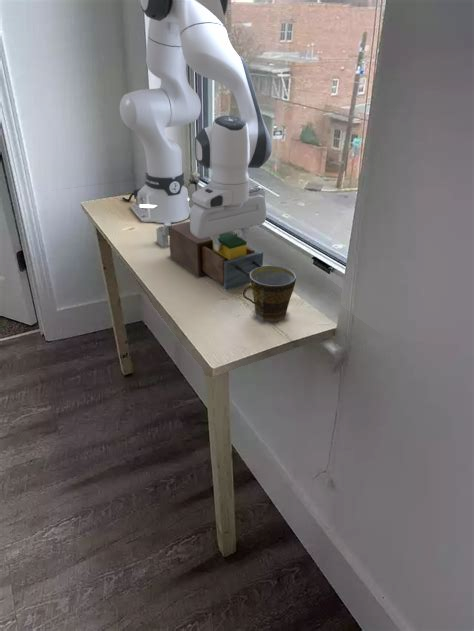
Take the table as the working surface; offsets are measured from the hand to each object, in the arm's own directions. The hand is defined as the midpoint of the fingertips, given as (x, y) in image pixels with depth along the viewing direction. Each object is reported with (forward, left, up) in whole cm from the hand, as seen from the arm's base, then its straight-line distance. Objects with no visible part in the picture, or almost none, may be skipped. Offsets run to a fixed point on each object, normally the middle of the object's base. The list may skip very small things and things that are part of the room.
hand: (229, 246), depth 125 cm
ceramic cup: (+21, -5, -9) cm, 23 cm away
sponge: (0, 0, -2) cm, 2 cm away
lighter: (-27, -4, -9) cm, 29 cm away
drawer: (+3, 0, -8) cm, 8 cm away
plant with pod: (-29, +9, -9) cm, 32 cm away
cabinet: (-12, 0, -9) cm, 15 cm away
